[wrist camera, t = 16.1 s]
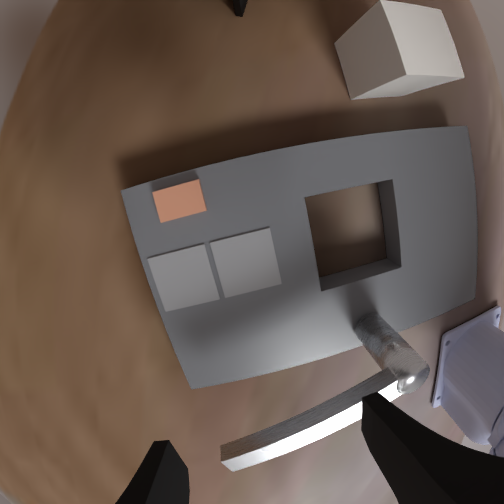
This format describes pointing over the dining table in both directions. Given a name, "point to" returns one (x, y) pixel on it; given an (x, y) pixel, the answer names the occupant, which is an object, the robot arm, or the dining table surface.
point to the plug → (397, 51)
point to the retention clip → (337, 399)
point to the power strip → (303, 249)
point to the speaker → (239, 7)
